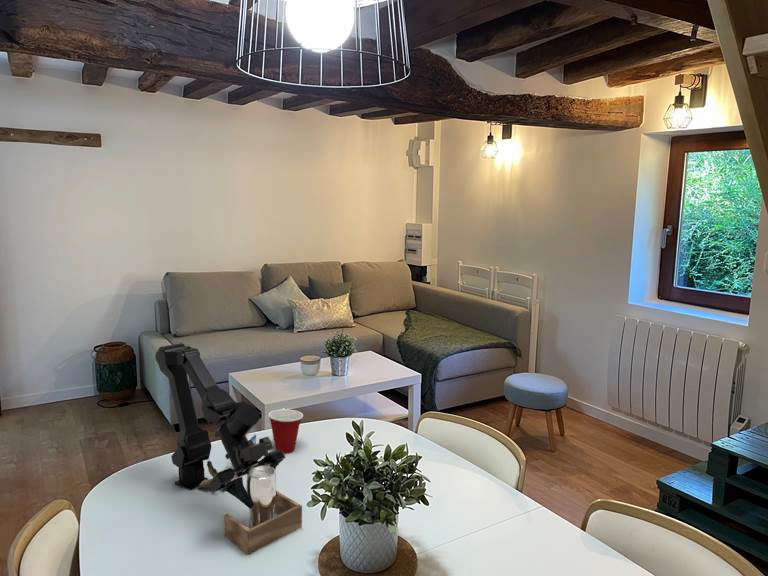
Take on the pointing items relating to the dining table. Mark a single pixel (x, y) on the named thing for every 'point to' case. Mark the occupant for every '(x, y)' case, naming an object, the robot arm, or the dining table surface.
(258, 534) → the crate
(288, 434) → the plastic cup
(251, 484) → the beer glass
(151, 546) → the dining table surface
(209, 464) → the eagle figurine
